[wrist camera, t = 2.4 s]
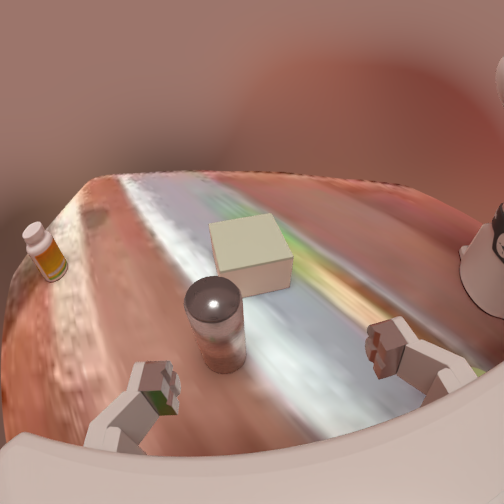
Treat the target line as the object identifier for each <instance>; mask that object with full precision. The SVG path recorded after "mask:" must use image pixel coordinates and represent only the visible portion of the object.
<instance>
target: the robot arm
mask: <svg viewBox="0 0 504 504" xmlns="http://www.w3.org/2000/svg"><path fill="white" fill-rule="evenodd" d="M496 87H497V91H498V95H499V98H500V100H501V102H502V105H503V106H504V56H503V57H502V59H501V60H500V62H499V64H498V66H497V70H496ZM459 254H460V258H461V264H460V276H461V280H462V282H463V285H464V287H465V289H466V291H467V292H468V294H469V295H470V297H471V298H472V299H473V301H474V302H475V303H476V304H477V305H478V306H479V307H480V308H481V309H483V310H484V311H485V312H487V313H489V314H490V315H493V316H496V317H500V318H503V319H504V203H502V204H501V205H500V206H499V208H498V209H497V211H496V213H495V216H494V218H493V220H492V223H486V224H483V225H482V226H481V228H480V230H479V231H478V233H477V234H476V236H475V237H474V239H473V241H472V242H471V244H470V245H469V246H462V247H461V248H460V250H459ZM367 334H368V335H369V337H368V338H367V339H366V341H365V350H366V354H367V357H368V359H369V361H371V362H373V363H374V366H373V369H374V371H375V373H376V375H377V377H378V379H383V378H386V377H389V376H392V375H395V374H397V376H399V377H400V378H402V379H403V380H404V381H406V382H407V383H409V384H410V385H412V386H413V387H415V388H416V389H418V390H419V391H421V392H422V393H424V394H425V395H426V397H425V399H424V401H423V403H422V405H421V407H420V408H418V409H416V410H414V411H411V412H409V413H406V414H404V415H401V416H399V417H396V418H394V419H391V420H388V421H386V422H383V423H380V424H377V425H374V426H371V427H368V428H365V429H362V430H359V431H356V432H352V433H349V434H345V435H342V436H338V437H334V438H331V439H327V440H322V441H318V442H314V443H309V444H304V445H300V446H294V447H289V448H283V449H277V450H271V451H263V452H256V453H247V454H236V455H223V456H199V457H174V456H151V455H147V454H146V452H144V451H143V450H142V449H141V448H140V447H139V446H138V445H139V444H140V442H141V441H142V440H143V438H144V437H145V436H146V434H147V433H148V431H149V430H150V429H151V427H152V426H153V425H154V423H155V422H156V421H157V419H158V418H159V416H162V415H178V407H179V401H178V400H177V396H178V395H179V394H180V389H181V387H180V380H179V377H178V375H177V373H176V372H174V371H172V369H173V365H172V364H171V362H170V361H147V362H136V363H135V364H134V366H133V369H132V372H131V376H130V379H129V383H128V386H127V390H126V391H123V392H122V393H121V394H120V395H119V396H118V397H117V398H116V399H115V400H114V401H113V402H112V403H111V404H110V405H109V406H108V407H107V408H105V409H104V410H103V411H102V412H101V413H100V414H99V415H98V416H97V417H96V418H95V419H94V420H93V421H92V422H91V423H90V425H89V428H88V431H87V435H86V438H85V442H84V446H83V447H82V446H77V445H73V444H68V443H64V442H60V441H56V440H52V439H48V438H45V437H41V436H38V435H35V434H32V433H28V432H22V433H20V434H18V435H17V436H16V437H14V438H13V439H12V440H10V441H9V442H8V443H7V444H6V445H4V446H3V447H2V448H1V450H0V504H504V361H503V362H501V363H500V364H498V365H497V366H495V367H494V368H492V369H491V370H489V371H488V372H486V373H485V374H483V375H481V376H480V377H477V375H476V374H475V372H474V371H473V370H472V368H471V367H470V365H469V364H468V363H467V361H466V360H465V358H463V357H461V356H458V355H456V354H454V353H452V352H449V351H447V350H445V349H443V348H440V347H438V346H436V345H434V344H431V343H429V342H427V341H425V340H419V339H418V338H417V336H416V335H415V334H414V332H413V331H412V330H411V328H410V327H409V325H408V324H407V323H406V321H405V320H404V319H403V317H401V316H399V317H396V318H392V319H390V320H386V321H382V322H379V323H375V324H372V325H369V326H368V328H367Z"/></svg>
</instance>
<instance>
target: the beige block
mask: <svg viewBox="0 0 504 504" xmlns="http://www.w3.org/2000/svg"><path fill="white" fill-rule="evenodd" d="M209 230H210V237H211V243H212V250H213V256H214V260H215V265H216V269H217V273H218V276H219V277H224V278H226V279H229V280H230V281H232V282H233V283H234V284H235V285H236V286H237V287H238V288H239V290H240V291H241V294H242V298H244V297H249V296H253V295H258V294H262V293H267V292H271V291H276V290H280V289H285V288H289V287H290V280H291V272H292V265H293V257H294V256H293V254H292V252H291V250H290V248H289V247H288V245H287V243H286V241H285V239H284V237H283V235H282V233H281V231H280V229H279V227H278V225H277V223H276V221H275V219H274V218H273V216H272V214H271V213H269V214H263V215H257V216H251V217H245V218H239V219H233V220H227V221H222V222H216V223H211V224H209Z"/></svg>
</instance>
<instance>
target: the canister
mask: <svg viewBox="0 0 504 504" xmlns="http://www.w3.org/2000/svg"><path fill="white" fill-rule="evenodd" d="M184 308H185V311H186V314H187V317H188V320H189V322H190V325H191V328H192V330H193V333H194V336H195V338H196V341H197V343H198V346H199V349H200V351H201V354H202V356H203V359H204V361H205V363H206V365H207V366H208V367H209V368H210V369H211V370H212V371H214V372H217V373H220V374H228V373H232V372H235V371H236V370H238V369H239V368H240V367H241V366H242V365H243V364H244V362H245V359H246V344H245V330H244V316H243V301H242V294H241V291H240V290H239V288H238V287H237V286H236V285H235V284H234V283H233V282H232V281H230V280H229V279H226V278H224V277H219V276H210V277H205V278H202V279H200V280H198V281H196V282H195V283H194V284H192V285H191V286H190V288H189V289H188V291H187V293H186V295H185V298H184Z"/></svg>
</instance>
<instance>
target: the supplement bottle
mask: <svg viewBox="0 0 504 504" xmlns="http://www.w3.org/2000/svg"><path fill="white" fill-rule="evenodd" d="M23 238H24V240H25V242H26V243H27V252H28V254H29V256H30V257H31V259H32V261H33V262H34V264H35V265H36V267H37V268H38V270H39V271H40V273H41V274H42V276H43V277H44V278H45V280H46V281H48V282H53V281H56V280H58V279H60V278H61V277H62V276H63V275H64V274H65V272H66V270H67V266H68V265H67V261H66V259H65V258H64V256H63V254H62V253H61V251H60V249H59V247H58V246H57V244H56V242H55V240H54V238H53V236H52V235H51V233H50V232H48V231H45V230H44V228H43V226H42V224H41V223H40V222H35V223H32V224H31V225H29V226H28V227H27V228H26V229H25V231H24V232H23Z"/></svg>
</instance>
